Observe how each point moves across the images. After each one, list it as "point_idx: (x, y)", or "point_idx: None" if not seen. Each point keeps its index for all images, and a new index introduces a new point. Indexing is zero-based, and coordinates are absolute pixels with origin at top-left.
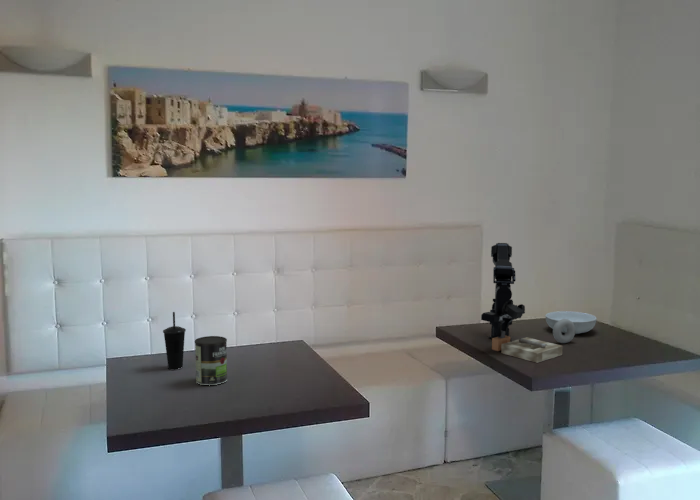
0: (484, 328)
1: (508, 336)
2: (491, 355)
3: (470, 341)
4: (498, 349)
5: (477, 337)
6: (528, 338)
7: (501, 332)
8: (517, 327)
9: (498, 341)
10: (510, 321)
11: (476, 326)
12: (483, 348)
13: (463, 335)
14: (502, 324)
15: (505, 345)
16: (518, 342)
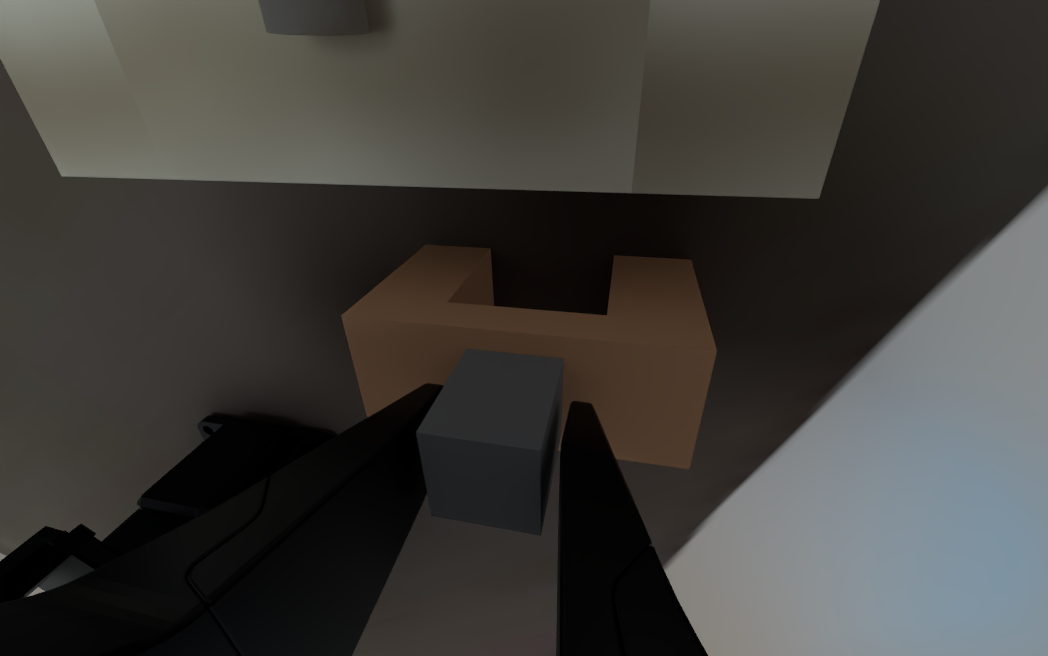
0: None
1: (363, 344)
2: (1027, 189)
3: None
4: (684, 268)
5: (427, 583)
6: (60, 106)
7: (543, 453)
8: (25, 496)
9: (708, 332)
10: (7, 632)
11: None
12: (701, 436)
13: (474, 649)
14: (326, 639)
15: (857, 70)
16: (397, 28)
